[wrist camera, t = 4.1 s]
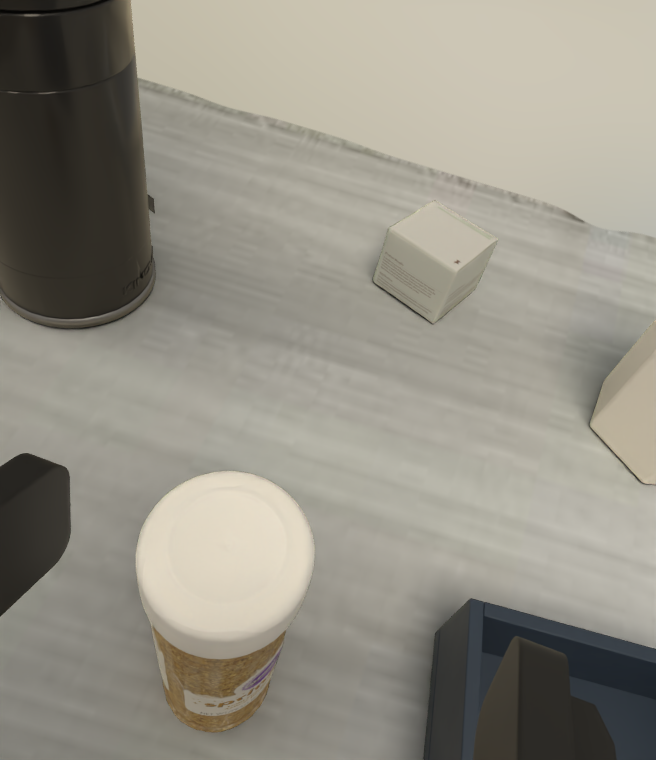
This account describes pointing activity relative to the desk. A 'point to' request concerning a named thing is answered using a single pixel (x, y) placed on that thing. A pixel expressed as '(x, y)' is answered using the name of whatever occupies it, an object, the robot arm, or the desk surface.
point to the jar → (631, 408)
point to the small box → (433, 260)
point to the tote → (586, 673)
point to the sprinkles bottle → (222, 591)
